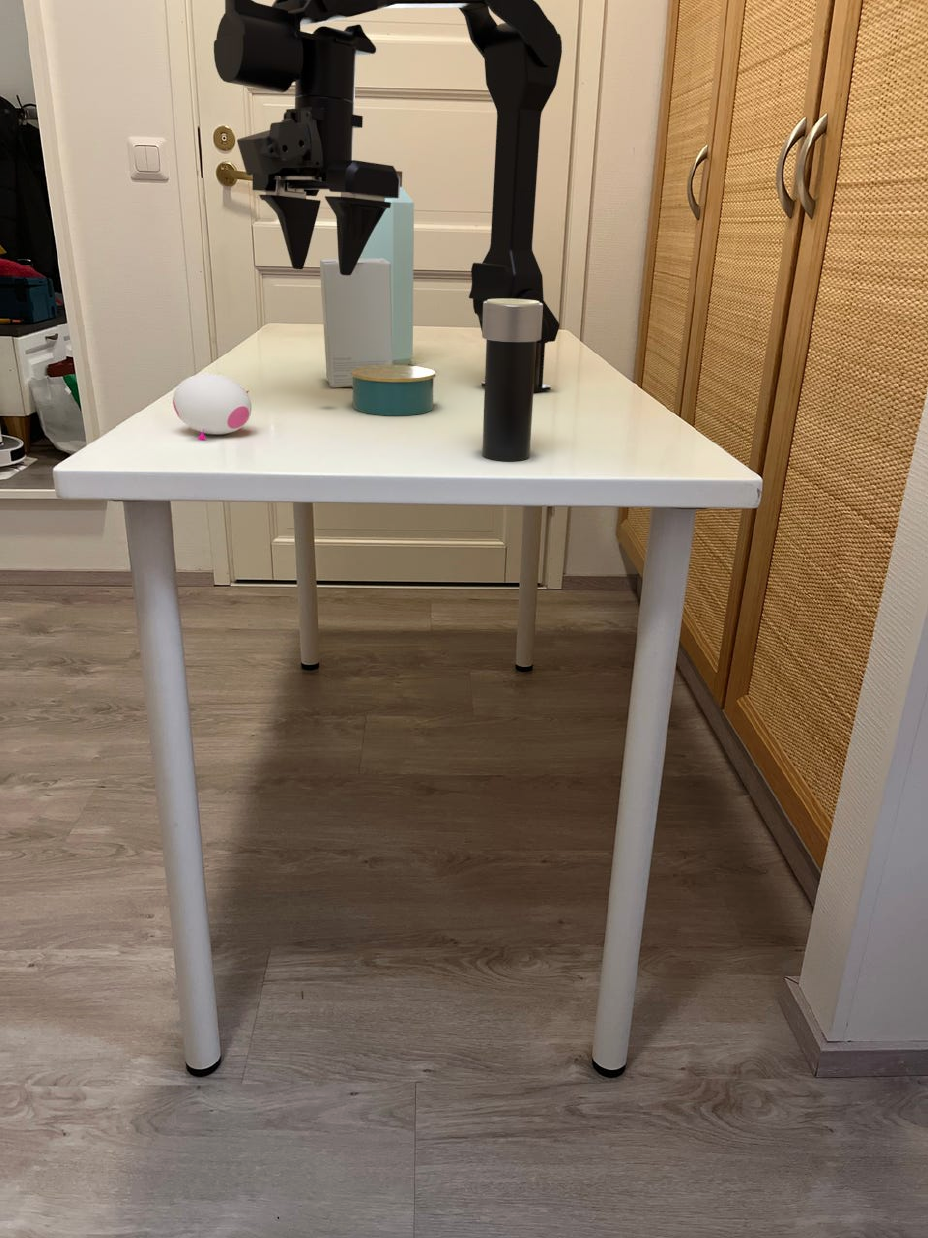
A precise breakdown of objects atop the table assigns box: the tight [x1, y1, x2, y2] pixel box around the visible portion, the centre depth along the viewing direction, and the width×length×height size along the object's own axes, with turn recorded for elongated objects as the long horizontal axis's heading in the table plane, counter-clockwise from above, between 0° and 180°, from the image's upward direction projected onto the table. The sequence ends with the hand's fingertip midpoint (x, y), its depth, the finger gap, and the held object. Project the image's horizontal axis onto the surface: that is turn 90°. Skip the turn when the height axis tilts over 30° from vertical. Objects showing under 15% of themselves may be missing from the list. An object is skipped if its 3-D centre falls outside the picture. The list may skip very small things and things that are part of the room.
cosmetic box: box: [319, 258, 393, 388], centre depth 117 cm, size 8×6×15 cm
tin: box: [351, 365, 436, 417], centre depth 106 cm, size 9×9×4 cm
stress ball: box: [172, 373, 253, 441], centre depth 92 cm, size 8×8×7 cm
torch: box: [481, 298, 543, 462], centre depth 85 cm, size 5×5×14 cm
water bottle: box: [359, 170, 415, 366], centre depth 131 cm, size 10×10×25 cm
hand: (320, 271), depth 98 cm, fingers open, 9 cm apart
